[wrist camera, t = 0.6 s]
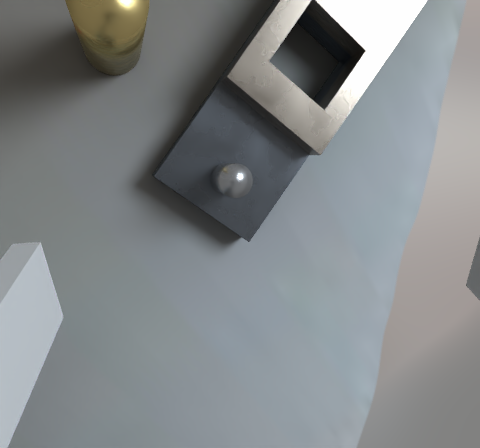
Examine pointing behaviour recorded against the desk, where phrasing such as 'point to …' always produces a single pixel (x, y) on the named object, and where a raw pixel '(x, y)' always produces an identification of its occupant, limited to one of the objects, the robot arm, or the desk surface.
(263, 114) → the door bolt
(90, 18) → the brass pin
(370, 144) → the desk surface
